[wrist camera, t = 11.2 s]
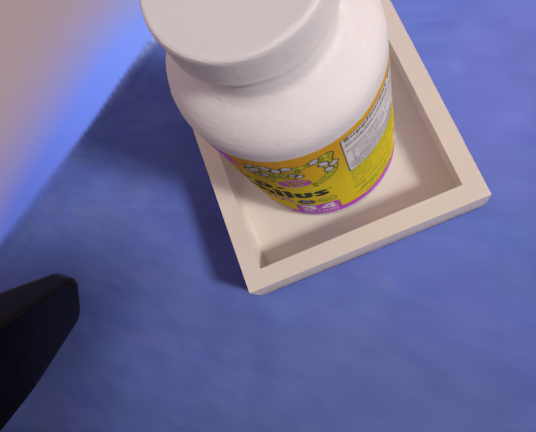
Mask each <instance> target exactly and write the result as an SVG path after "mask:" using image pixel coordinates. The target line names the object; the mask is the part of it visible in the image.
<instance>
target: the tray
mask: <svg viewBox="0 0 536 432" xmlns="http://www.w3.org/2000/svg"><path fill="white" fill-rule="evenodd" d="M381 3H382V6H383V9H384V12H385V16H386V21H387V28H388V38H389V56H390V72H391V87H392V100H393V113H394V128H395V144H394V152H393V157H392V161H391V164H390V166H389V169H388V171H387V173H386V175H385V177H384V179H383V180H382V182H381V183H380V184H379V186H378V187H377V188H376V189H375V190H374V192H372V193H371V194H370V195H369V196H368V197H367V198H366V199H364V200H363V201H362V202H360V203H359V204H357V205H355V206H353V207H352V208H349V209H347V210H345V211H342V212H338V213H335V214H329V215H306V214H301V213H297V212H294V211H291V210H289V209H287V208H285V207H283V206H281V205H279V204H278V203H277V202H275V201H274V200H272V199H271V198H270V197H269V196H267V195H266V194H265V193H264V192H263V191H262V190H261V189H259V188H258V187H257V186H256V185H255V184H254V183H253V182H251V181H250V180H249V179H248V178H247V177H246V176H245V175H244V174H243V173H241V172H240V171H239V170H238V169H237V168H236V167H235V166H234V165H232V164H231V163H230V162H229V161H228V160H227V159H226V158H225V157H224V156H223V155H222V154H220V153H219V152H218V151H217V150H216V149H215V148H214V147H213V146H211V145H210V144H209V143H208V142H207V141H206V140H204V139H203V138H202V137H201V136H200V135H199V134H198V133H197V132H196V131H195V130H194V129H193V131H194V134H195V137H196V140H197V143H198V146H199V149H200V151H201V154H202V157H203V160H204V163H205V166H206V169H207V172H208V175H209V178H210V180H211V183H212V186H213V189H214V192H215V195H216V198H217V201H218V204H219V206H220V209H221V212H222V215H223V218H224V221H225V224H226V227H227V230H228V233H229V235H230V238H231V241H232V244H233V247H234V250H235V253H236V256H237V259H238V261H239V264H240V267H241V270H242V273H243V276H244V279H245V282H246V285H247V288H248V290H249V293H251V294H257V295H264V294H267V293H269V292H272V291H274V290H277V289H279V288H282V287H284V286H287V285H289V284H292V283H294V282H297V281H299V280H302V279H304V278H306V277H309V276H311V275H314V274H316V273H319V272H321V271H324V270H326V269H329V268H331V267H334V266H336V265H339V264H341V263H343V262H346V261H348V260H351V259H353V258H356V257H358V256H361V255H363V254H366V253H368V252H371V251H373V250H376V249H378V248H380V247H383V246H385V245H388V244H390V243H393V242H395V241H398V240H400V239H403V238H405V237H408V236H410V235H413V234H415V233H417V232H420V231H422V230H425V229H427V228H430V227H432V226H435V225H437V224H440V223H442V222H445V221H447V220H450V219H452V218H454V217H457V216H459V215H462V214H464V213H467V212H469V211H472V210H474V209H477V208H479V207H482V206H484V205H485V204H486V202H487V201H488V199H489V197H490V196H491V192H490V191H489V189H488V187H487V185H486V183H485V181H484V179H483V177H482V175H481V173H480V171H479V170H478V168H477V166H476V164H475V162H474V160H473V158H472V156H471V154H470V152H469V150H468V148H467V147H466V145H465V143H464V141H463V139H462V137H461V135H460V133H459V131H458V129H457V127H456V126H455V124H454V122H453V120H452V118H451V116H450V114H449V112H448V110H447V108H446V106H445V104H444V103H443V101H442V99H441V97H440V95H439V93H438V91H437V89H436V87H435V85H434V83H433V82H432V80H431V78H430V76H429V74H428V72H427V70H426V68H425V66H424V64H423V62H422V60H421V59H420V57H419V55H418V53H417V51H416V49H415V47H414V45H413V43H412V41H411V39H410V38H409V36H408V34H407V32H406V30H405V28H404V26H403V24H402V22H401V20H400V18H399V17H398V15H397V13H396V11H395V9H394V7H393V5H392V3H391V1H390V0H381Z"/></svg>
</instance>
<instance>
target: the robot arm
mask: <svg viewBox="0 0 536 432" xmlns="http://www.w3.org/2000/svg"><path fill="white" fill-rule="evenodd" d="M79 314H80V304H79V292H78V283H77V281H76V280H75V279H74V278H72V277H69V276H65V275H62V274H57V273H56V274H52V275H49V276H46V277H43V278H40V279H38V280H35V281H32V282H29V283H27V284H24V285H21V286H18V287H16V288H13V289H10V290H7V291H4V292H2V293H0V431H1V430H2V428H3V427H4V426H5V424H6V423H7V422H8V421H9V419H10V418H11V417H12V416H13V414H14V413H15V412H16V411H17V409H18V408H19V407H20V406H21V404H22V403H23V402H24V400H25V399H26V398H27V397H28V395H29V394H30V393H31V391H32V390H33V389H34V387H35V386H36V384H37V383H38V381H39V380H40V379H41V377H42V375H43V374H44V372H45V371H46V369H47V368H48V366H49V365H50V363H51V361H52V360H53V358H54V357H55V355H56V354H57V352H58V350H59V349H60V347H61V346H62V344H63V343H64V341H65V339H66V338H67V336H68V335H69V333H70V332H71V330H72V328H73V327H74V325H75V324H76V322H77V320H78V318H79Z"/></svg>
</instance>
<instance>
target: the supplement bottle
mask: <svg viewBox="0 0 536 432" xmlns="http://www.w3.org/2000/svg"><path fill="white" fill-rule="evenodd" d="M140 6H141V10H142V14H143V17H144V19H145V22H146V25H147V27H148V29H149V30H150V32H151V33H152V35H153V36H154V38H155V39H156V40H157V42H158V43H159V44H160V45H161V46H162V47H163V48H164V50H165V51H166V72H167V78H168V82H169V86H170V90H171V94H172V96H173V99H174V101H175V103H176V105H177V107H178V109H179V111H180V112H181V114H182V116H183V117H184V118H185V120H186V121H187V122H188V124H189V125H190V126H191V127H192V128H193V129H194V130H195V131H196V132H197V133H198V134H199V135H200V136H201V137H202V138H203V139H204V140H206V141H207V142H208V143H209V144H210V145H211V146H213V147H214V148H215V149H216V150H217V151H218V152H219V153H220V154H222V155H223V156H224V157H225V158H226V159H227V160H228V161H229V162H230V163H231V164H232V165H234V166H235V167H236V168H237V169H238V170H239V171H240V172H241V173H243V174H244V175H245V176H246V177H247V178H248V179H249V180H250V181H251V182H253V183H254V184H255V185H256V186H257V187H258V188H259V189H261V190H262V191H263V192H264V193H265V194H266V195H267V196H269V197H270V198H271V199H272V200H274V201H275V202H277V203H278V204H279V205H281V206H283V207H285V208H287V209H289V210H291V211H294V212H297V213H301V214H306V215H329V214H335V213H338V212H342V211H345V210H347V209H349V208H352V207H353V206H355V205H357V204H359V203H360V202H362V201H363V200H364V199H366V198H367V197H368V196H369V195H370V194H371V193H372V192H374V190H375V189H376V188H377V187H378V186H379V184H380V183H381V182H382V180H383V179H384V177H385V175H386V173H387V171H388V169H389V166H390V164H391V161H392V157H393V152H394V144H395V128H394V113H393V100H392V87H391V72H390V56H389V38H388V28H387V21H386V16H385V12H384V9H383V6H382V3H381V0H140Z"/></svg>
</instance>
